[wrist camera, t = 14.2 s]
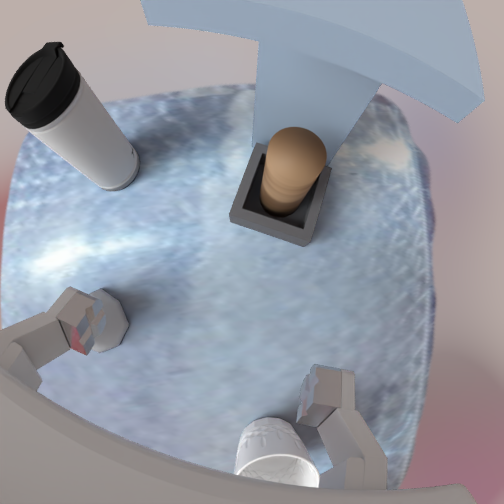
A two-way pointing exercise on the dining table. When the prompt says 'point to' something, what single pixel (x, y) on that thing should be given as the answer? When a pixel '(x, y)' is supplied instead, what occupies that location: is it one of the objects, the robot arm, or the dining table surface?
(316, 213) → the socket
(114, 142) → the travel mug
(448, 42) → the awning
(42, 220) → the dining table surface
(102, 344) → the flask
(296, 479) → the white cup
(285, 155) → the peg
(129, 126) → the dining table surface
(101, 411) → the dining table surface
